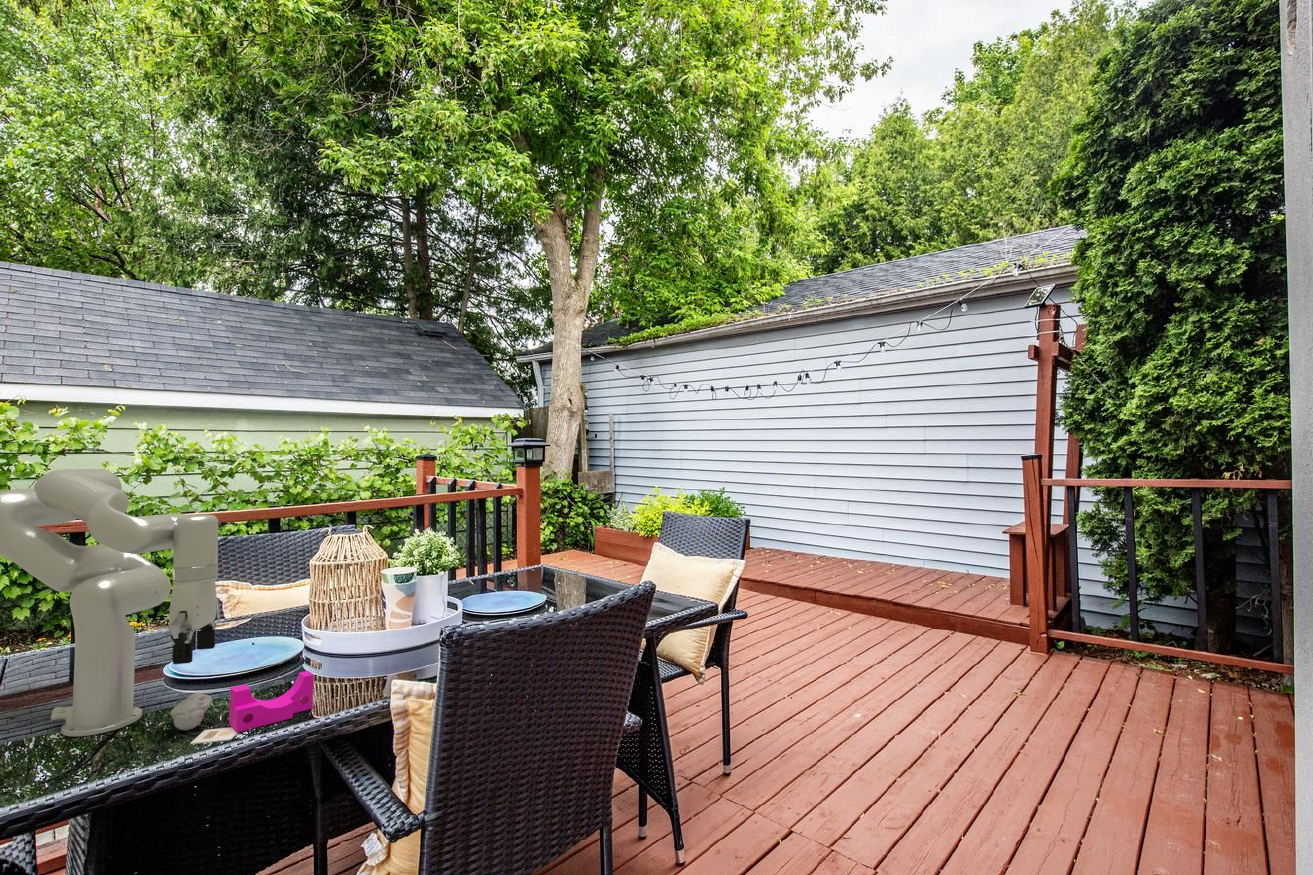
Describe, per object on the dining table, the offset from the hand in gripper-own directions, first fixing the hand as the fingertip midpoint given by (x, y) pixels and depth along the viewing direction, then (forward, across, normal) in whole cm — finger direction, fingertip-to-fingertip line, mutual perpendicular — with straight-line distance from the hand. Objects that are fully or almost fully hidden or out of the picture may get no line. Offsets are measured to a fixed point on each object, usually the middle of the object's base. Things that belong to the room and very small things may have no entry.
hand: (194, 655), depth 125 cm
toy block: (+15, -2, +14) cm, 21 cm away
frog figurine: (+15, 0, -1) cm, 15 cm away
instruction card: (+15, +5, +6) cm, 17 cm away
